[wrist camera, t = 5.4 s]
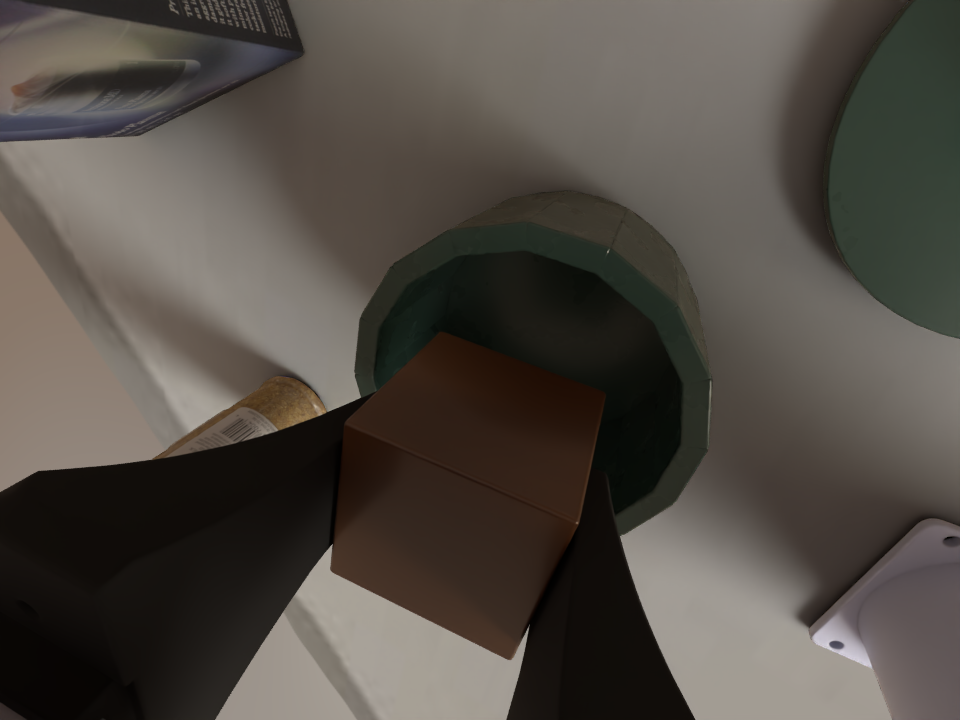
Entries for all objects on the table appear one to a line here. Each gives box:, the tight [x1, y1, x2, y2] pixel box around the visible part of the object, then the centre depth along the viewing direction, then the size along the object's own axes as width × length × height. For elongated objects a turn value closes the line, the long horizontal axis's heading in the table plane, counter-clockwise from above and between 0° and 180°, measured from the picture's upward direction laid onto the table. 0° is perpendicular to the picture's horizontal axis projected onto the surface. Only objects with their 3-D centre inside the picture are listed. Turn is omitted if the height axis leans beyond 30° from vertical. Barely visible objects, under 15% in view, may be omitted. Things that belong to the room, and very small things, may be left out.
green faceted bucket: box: [354, 191, 712, 536], centre depth 16 cm, size 10×10×6 cm
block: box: [330, 332, 606, 660], centre depth 11 cm, size 4×4×4 cm
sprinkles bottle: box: [152, 376, 327, 460], centre depth 21 cm, size 5×5×14 cm
